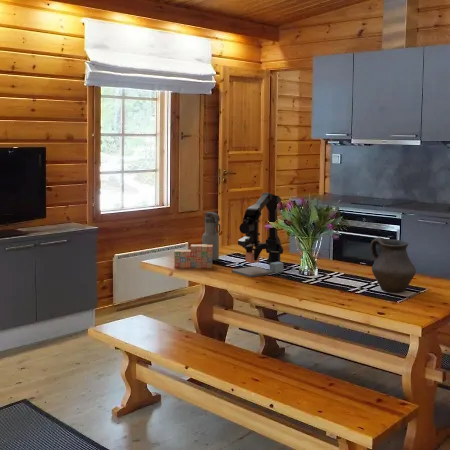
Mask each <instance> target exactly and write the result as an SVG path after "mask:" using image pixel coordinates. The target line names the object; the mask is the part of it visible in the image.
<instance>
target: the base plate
mask: <svg viewBox="0 0 450 450" xmlns="http://www.w3.org/2000/svg"><path fill="white" fill-rule="evenodd" d="M231 273H232V274H237V275H241V276H244V277H248V278H254V277H259V276H260V277H261V276H266V275H272V273H273V271H271V270H270V269H266V268H263V267H258V266H255V265H254V266H253V265H252V266H248V267H247V266H246V267H241V268H233V269H231ZM273 274H274V273H273Z"/></svg>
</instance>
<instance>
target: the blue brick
mask: <svg viewBox="0 0 450 450" xmlns="http://www.w3.org/2000/svg"><path fill="white" fill-rule="evenodd" d="M284 264H285V263H284V262H281V261H280V262H273V263H270V264H269V270H271V271H273V274H279V272H280V273H284Z"/></svg>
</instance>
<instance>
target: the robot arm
mask: <svg viewBox="0 0 450 450" xmlns="http://www.w3.org/2000/svg"><path fill="white" fill-rule="evenodd" d="M279 202H282V199H281V197H280V196H279V195H276V194H273V193H271V192H262V193H261V196H260V197H259V199H257V201H255V203H254V204H252V205H250V206H248V207H247V208H246V209H245V211H244V214H243V218H242V223H240V225H239V227H238V228H239V231H240V233H241V234H244V235H245V236H243V237H241V238H239V239H238V240H237V245H238V246H240V247H242V248H243V249H244V250H245V253H247V252H253V251H254V260H255V261H256V260H257V259H258V256H259V254H261V253H262V251H263V250H265V251H266V252H265V253H266V254H268V257H267V258H268V259H267V260H268V261H267V262H266V264H269V265H270V263H273V262H281V255H283V253H284V248H283V246H282V243H281V239H280V237H279V236H278V228H277V229H276V228H269V227H268V237H267V239H266V240H265V242H261V241H260V240H259V236H260V235H261V233H260V232H259V223H260V222H261V221H260V218H261V215H262V211H263V209H264V208H266V209H267V211H268V223H269V222H275V221H276V220H277V221H278V210H277V204H278V203H279Z"/></svg>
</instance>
